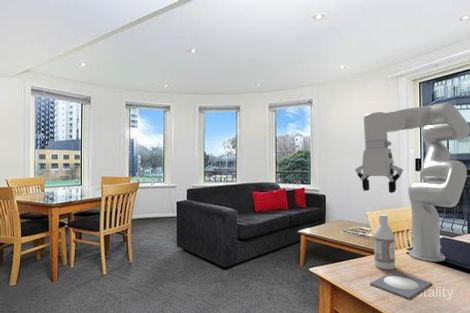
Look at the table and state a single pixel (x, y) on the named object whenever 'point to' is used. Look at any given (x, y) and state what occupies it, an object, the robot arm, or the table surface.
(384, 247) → the bath foam
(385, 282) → the rubber mat
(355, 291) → the table surface
